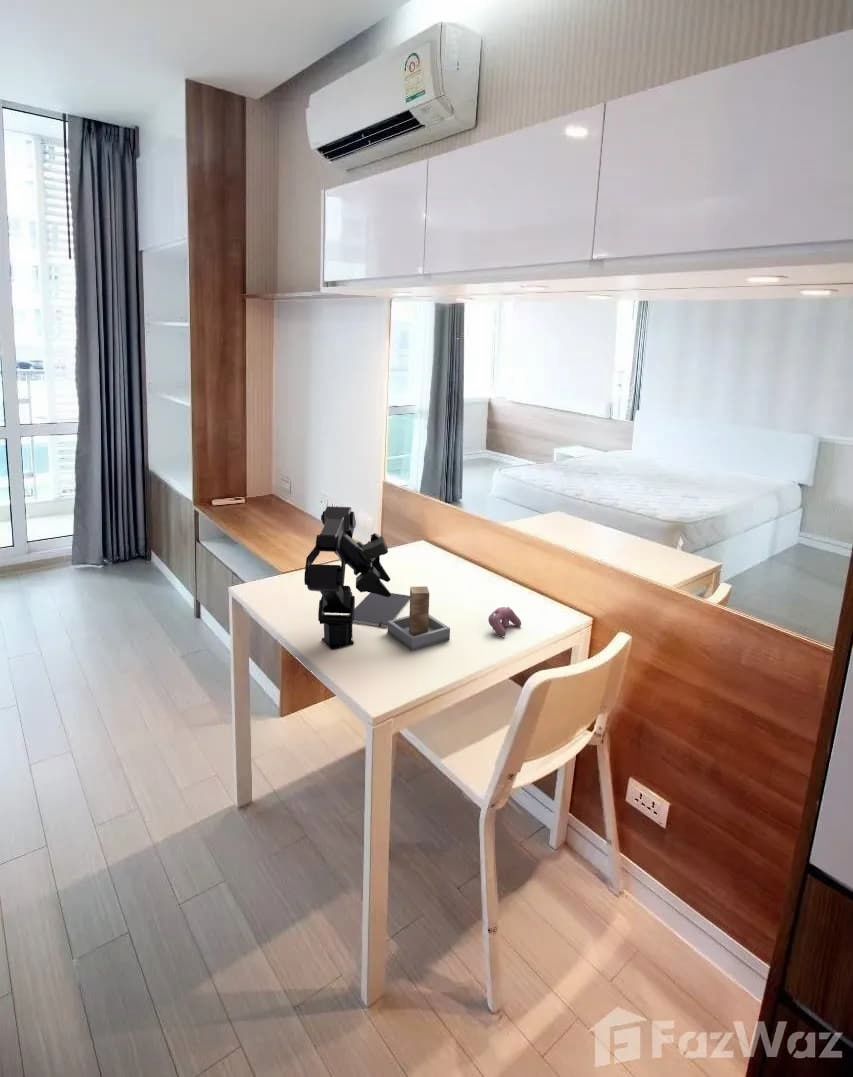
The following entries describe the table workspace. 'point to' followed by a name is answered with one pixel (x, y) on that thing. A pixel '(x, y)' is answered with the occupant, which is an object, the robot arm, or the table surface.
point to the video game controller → (503, 619)
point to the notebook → (380, 609)
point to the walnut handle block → (419, 610)
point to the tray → (433, 636)
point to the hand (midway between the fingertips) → (389, 588)
